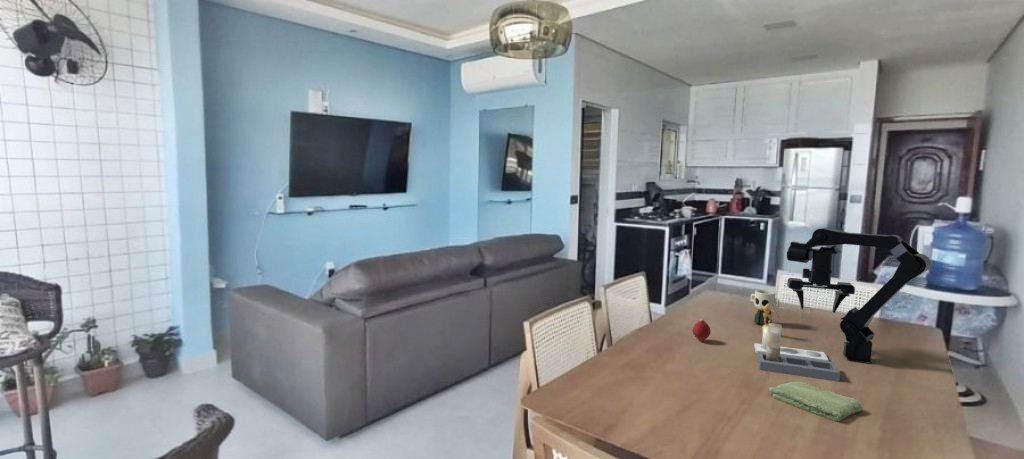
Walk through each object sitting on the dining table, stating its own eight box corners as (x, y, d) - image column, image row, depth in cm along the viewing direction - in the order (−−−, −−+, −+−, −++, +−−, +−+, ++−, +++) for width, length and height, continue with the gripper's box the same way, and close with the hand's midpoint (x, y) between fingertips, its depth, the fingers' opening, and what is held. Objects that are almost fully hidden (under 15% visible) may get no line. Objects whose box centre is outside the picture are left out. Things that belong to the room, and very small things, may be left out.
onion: (706, 338, 176) (708, 316, 175) (711, 344, 170) (713, 321, 169) (690, 337, 176) (691, 316, 175) (694, 343, 170) (695, 320, 169)
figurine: (781, 336, 179) (784, 304, 178) (775, 340, 175) (778, 307, 174) (757, 330, 185) (759, 299, 184) (751, 334, 181) (753, 302, 180)
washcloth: (792, 386, 138) (793, 375, 137) (864, 413, 123) (865, 400, 122) (765, 396, 131) (766, 385, 130) (837, 426, 116) (838, 413, 115)
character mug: (744, 322, 196) (746, 290, 195) (753, 319, 201) (755, 287, 199) (772, 329, 188) (775, 295, 186) (781, 325, 192) (783, 293, 191)
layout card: (823, 355, 161) (825, 331, 160) (828, 363, 154) (830, 338, 153) (754, 346, 169) (756, 323, 168) (756, 353, 162) (757, 329, 161)
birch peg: (780, 366, 151) (783, 325, 149) (776, 369, 148) (779, 327, 147) (767, 363, 153) (771, 322, 152) (763, 366, 151) (766, 324, 149)
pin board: (832, 369, 149) (833, 361, 149) (839, 381, 140) (840, 372, 140) (757, 359, 156) (758, 351, 156) (759, 369, 148) (760, 361, 148)
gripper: (848, 263, 168) (844, 308, 170) (786, 259, 175) (783, 302, 177) (857, 269, 158) (852, 316, 160) (791, 264, 165) (787, 309, 167)
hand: (817, 310), depth 166 cm, fingers open, 9 cm apart
